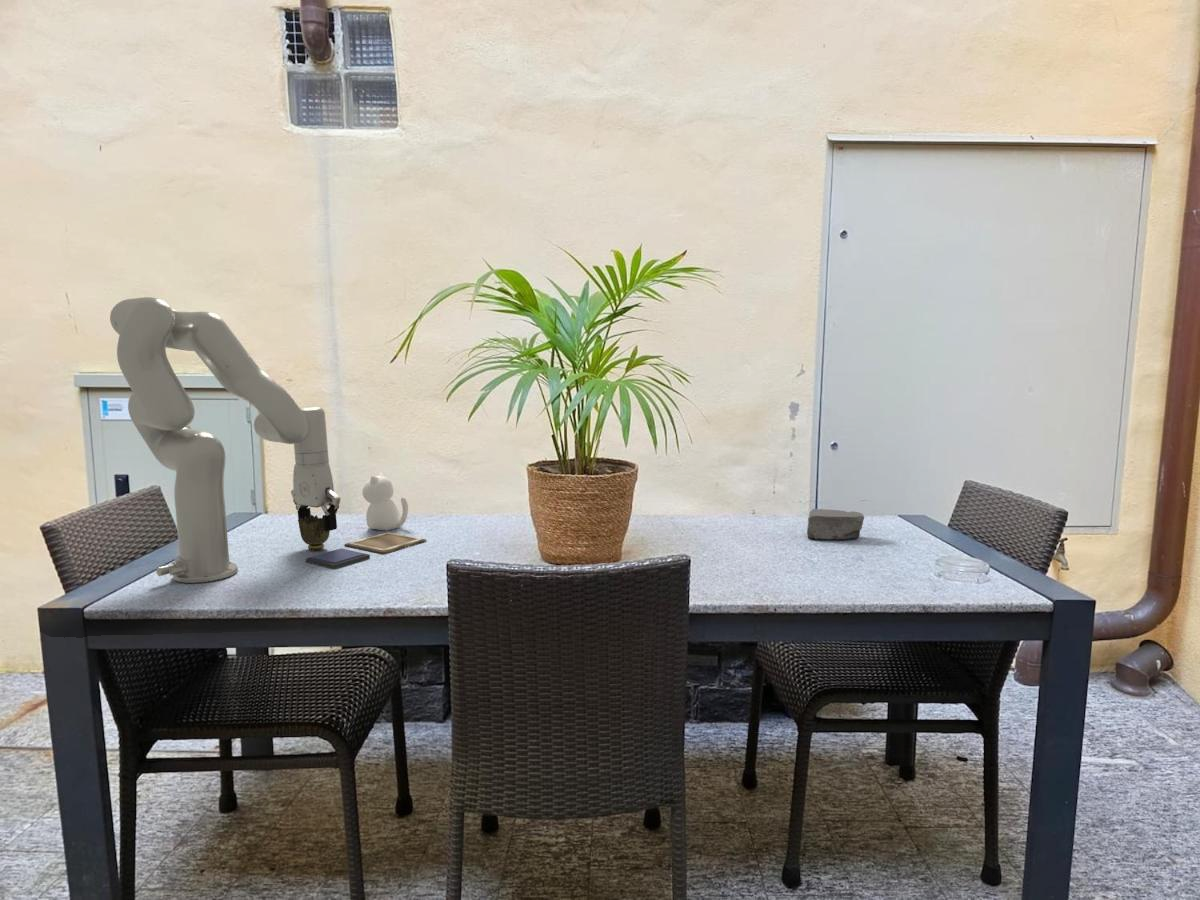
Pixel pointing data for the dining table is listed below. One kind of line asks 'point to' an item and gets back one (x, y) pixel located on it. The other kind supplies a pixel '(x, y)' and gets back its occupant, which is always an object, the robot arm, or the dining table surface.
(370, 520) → the cat figurine
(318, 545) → the cup
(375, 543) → the marked board
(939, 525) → the dining table surface
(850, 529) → the decorative stone
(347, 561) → the ink pad
